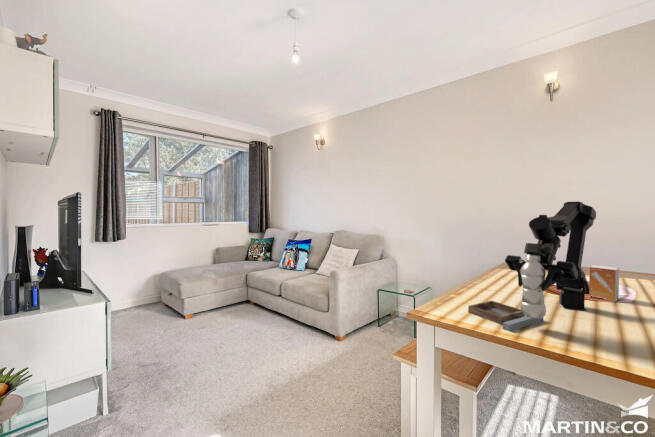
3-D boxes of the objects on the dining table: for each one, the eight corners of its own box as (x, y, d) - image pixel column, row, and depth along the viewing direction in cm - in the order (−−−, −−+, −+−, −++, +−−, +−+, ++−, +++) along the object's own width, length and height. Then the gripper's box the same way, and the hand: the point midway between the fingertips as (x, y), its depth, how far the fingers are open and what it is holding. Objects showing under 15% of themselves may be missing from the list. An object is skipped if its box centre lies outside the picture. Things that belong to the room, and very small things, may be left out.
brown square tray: (491, 306, 111) (491, 300, 111) (525, 317, 100) (525, 310, 100) (468, 312, 106) (468, 305, 106) (501, 324, 94) (501, 317, 94)
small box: (588, 297, 120) (588, 266, 120) (592, 294, 124) (593, 264, 123) (615, 302, 114) (616, 269, 113) (619, 299, 117) (619, 267, 117)
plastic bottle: (550, 321, 87) (550, 256, 86) (524, 319, 89) (524, 256, 88) (540, 314, 93) (541, 253, 92) (517, 312, 95) (517, 252, 94)
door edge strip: (536, 318, 99) (536, 313, 99) (543, 320, 97) (543, 314, 97) (502, 328, 91) (502, 322, 91) (509, 331, 89) (509, 324, 89)
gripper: (507, 232, 100) (490, 267, 95) (574, 235, 84) (559, 278, 79) (518, 252, 105) (503, 287, 99) (584, 259, 89) (570, 301, 83)
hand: (530, 287), depth 90 cm, fingers closed on plastic bottle, 6 cm apart
